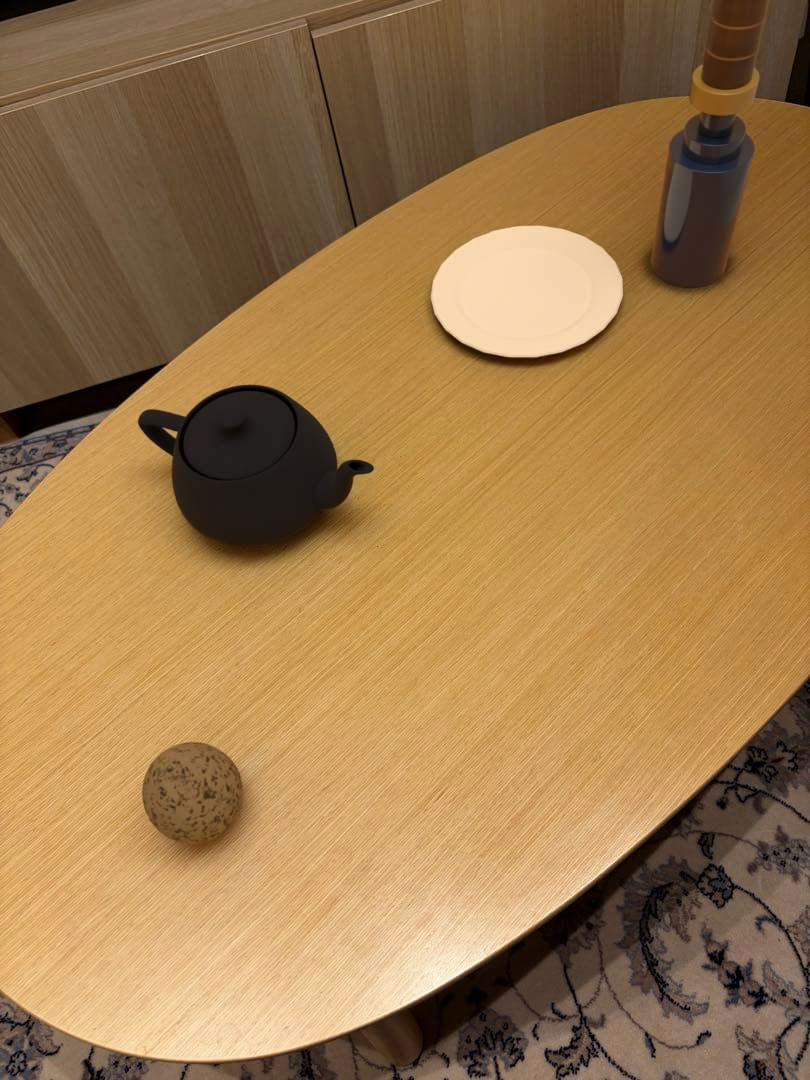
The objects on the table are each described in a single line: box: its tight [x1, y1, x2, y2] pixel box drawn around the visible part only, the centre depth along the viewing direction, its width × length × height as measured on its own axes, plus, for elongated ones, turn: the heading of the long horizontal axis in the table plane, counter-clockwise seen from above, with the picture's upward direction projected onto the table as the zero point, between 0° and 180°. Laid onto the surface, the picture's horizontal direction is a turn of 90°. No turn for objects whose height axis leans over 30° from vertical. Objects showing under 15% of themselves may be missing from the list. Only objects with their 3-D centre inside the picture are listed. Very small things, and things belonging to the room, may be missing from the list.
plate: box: [430, 225, 624, 359], centre depth 95 cm, size 21×21×2 cm
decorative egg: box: [141, 741, 244, 845], centre depth 64 cm, size 7×7×10 cm
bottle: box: [650, 63, 760, 289], centre depth 87 cm, size 8×8×21 cm
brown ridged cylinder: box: [701, 0, 770, 90], centre depth 75 cm, size 4×4×8 cm
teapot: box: [137, 384, 375, 548], centre depth 80 cm, size 25×16×12 cm, turn 67°
